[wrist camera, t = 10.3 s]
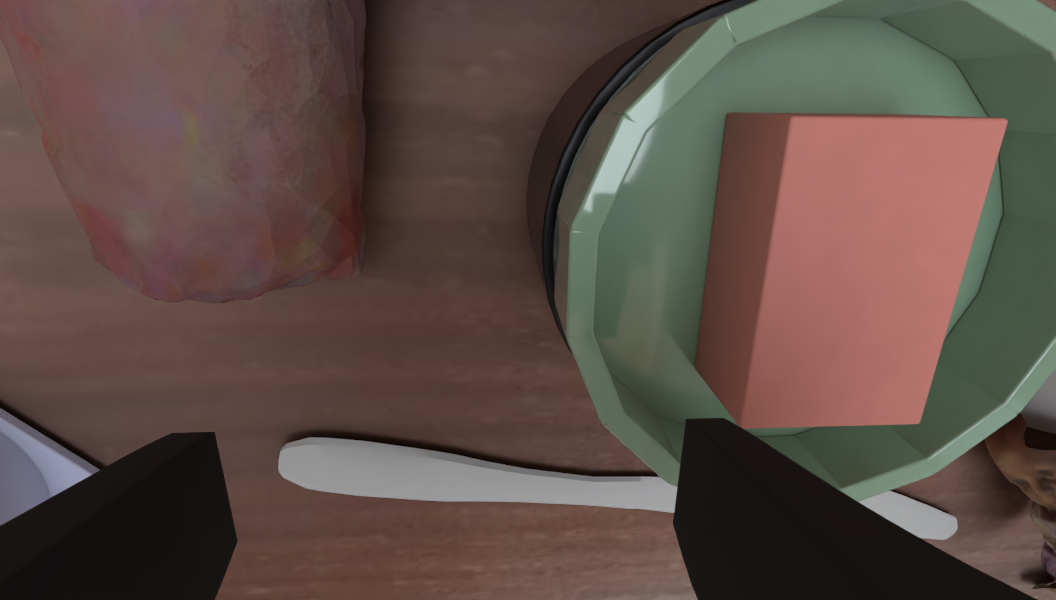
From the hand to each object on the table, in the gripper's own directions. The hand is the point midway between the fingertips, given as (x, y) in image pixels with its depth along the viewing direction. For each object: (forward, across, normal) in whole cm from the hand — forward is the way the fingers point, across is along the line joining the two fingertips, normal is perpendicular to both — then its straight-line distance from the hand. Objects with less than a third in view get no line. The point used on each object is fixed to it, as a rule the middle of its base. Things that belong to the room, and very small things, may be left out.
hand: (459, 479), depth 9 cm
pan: (+4, -9, -5) cm, 11 cm away
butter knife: (+10, -6, +8) cm, 15 cm away
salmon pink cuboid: (+4, -7, -3) cm, 8 cm away
